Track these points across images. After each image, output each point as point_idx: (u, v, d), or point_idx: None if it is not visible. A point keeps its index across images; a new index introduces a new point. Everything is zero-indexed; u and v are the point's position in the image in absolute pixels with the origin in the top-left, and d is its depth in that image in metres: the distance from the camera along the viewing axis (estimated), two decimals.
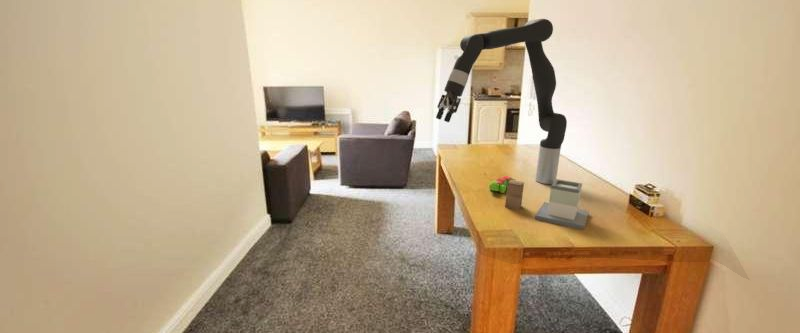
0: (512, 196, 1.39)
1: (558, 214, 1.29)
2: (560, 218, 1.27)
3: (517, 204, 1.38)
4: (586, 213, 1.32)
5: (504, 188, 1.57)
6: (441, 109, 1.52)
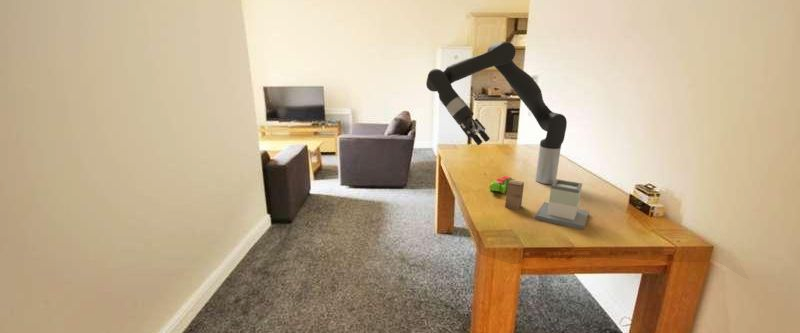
0: (512, 196, 1.39)
1: (558, 214, 1.29)
2: (560, 218, 1.27)
3: (517, 204, 1.38)
4: (586, 213, 1.32)
5: (504, 188, 1.57)
6: (481, 132, 1.47)
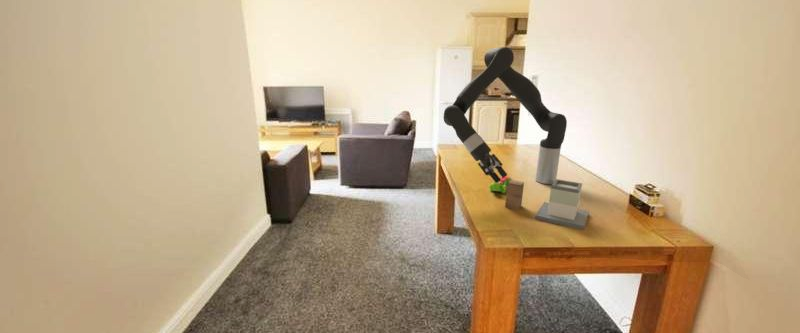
0: (512, 196, 1.39)
1: (558, 214, 1.29)
2: (560, 218, 1.27)
3: (517, 204, 1.38)
4: (586, 213, 1.32)
5: (505, 188, 1.57)
6: (498, 168, 1.46)
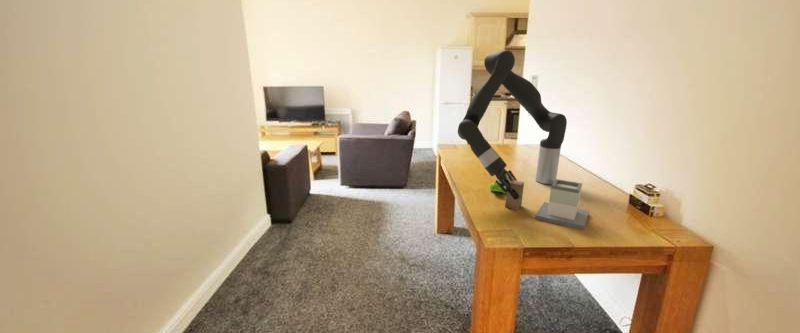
0: None
1: (558, 214, 1.29)
2: (560, 218, 1.27)
3: (517, 204, 1.38)
4: (586, 213, 1.32)
5: None
6: None
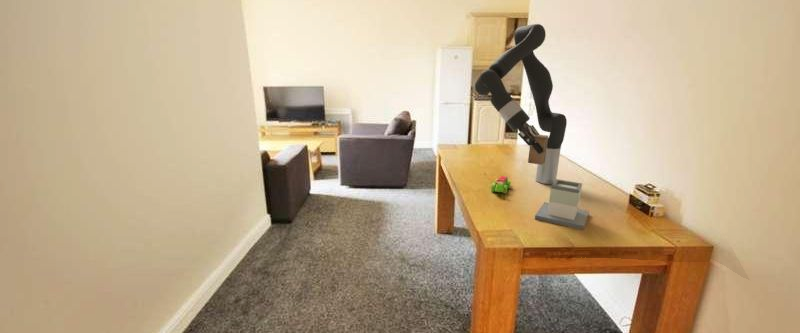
0: (535, 150, 1.30)
1: (558, 214, 1.29)
2: (560, 218, 1.27)
3: (541, 159, 1.30)
4: (586, 213, 1.32)
5: (506, 188, 1.56)
6: None
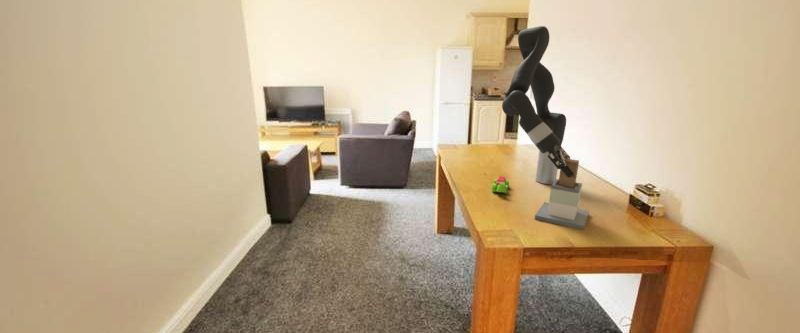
0: None
1: (558, 214, 1.29)
2: (560, 218, 1.27)
3: (572, 184, 1.26)
4: (586, 213, 1.32)
5: None
6: None
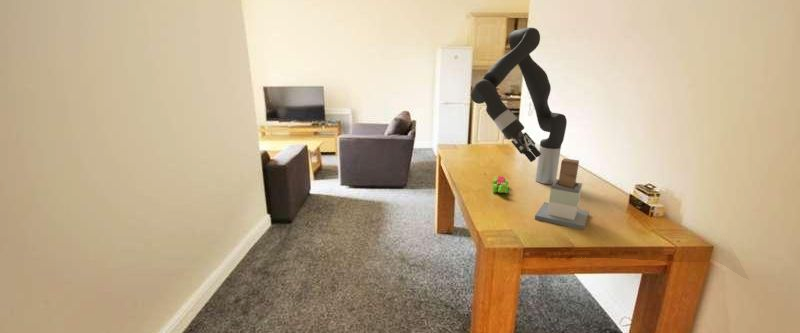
0: (566, 175, 1.26)
1: (558, 214, 1.29)
2: (560, 218, 1.27)
3: (572, 184, 1.26)
4: (586, 213, 1.32)
5: None
6: (531, 147, 1.37)
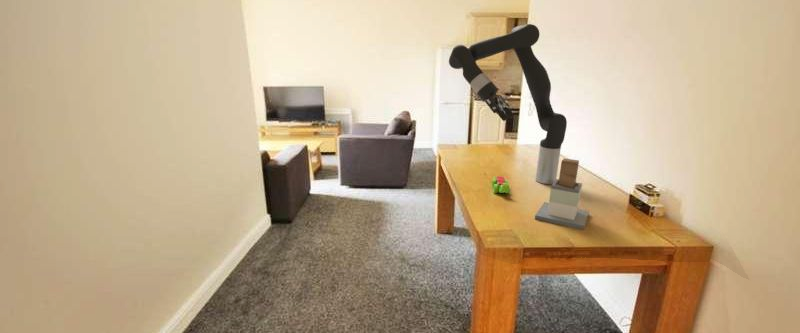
0: (566, 175, 1.26)
1: (558, 214, 1.29)
2: (560, 218, 1.27)
3: (572, 184, 1.26)
4: (586, 213, 1.32)
5: None
6: (505, 109, 1.45)
